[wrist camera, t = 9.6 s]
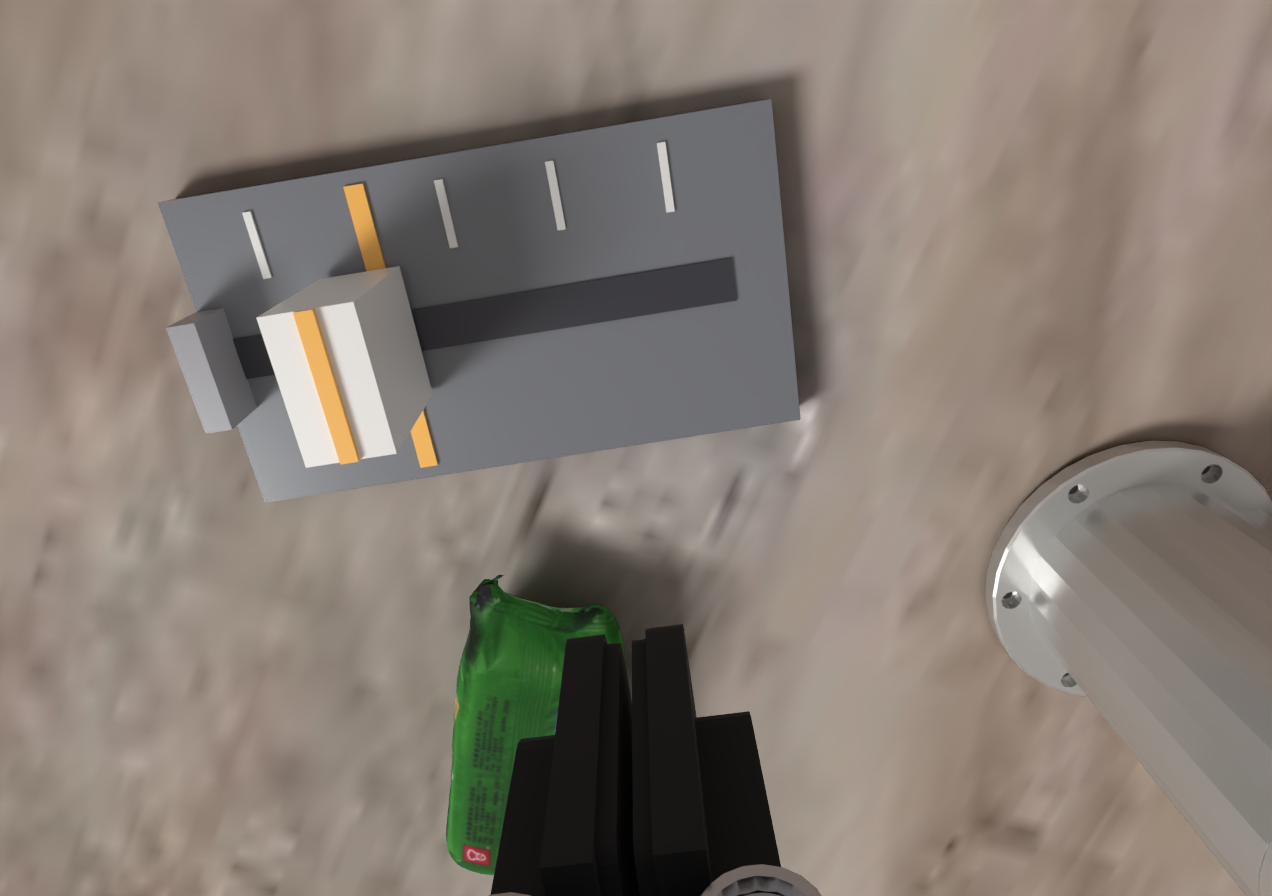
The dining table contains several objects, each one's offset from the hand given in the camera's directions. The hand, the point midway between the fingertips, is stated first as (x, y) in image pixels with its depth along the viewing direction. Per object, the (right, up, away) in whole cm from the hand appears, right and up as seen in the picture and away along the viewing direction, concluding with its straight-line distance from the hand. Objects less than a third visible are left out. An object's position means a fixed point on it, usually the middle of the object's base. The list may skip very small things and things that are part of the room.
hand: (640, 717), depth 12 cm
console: (-5, +9, +21) cm, 24 cm away
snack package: (-5, -8, +29) cm, 30 cm away
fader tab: (-10, +8, +20) cm, 24 cm away
